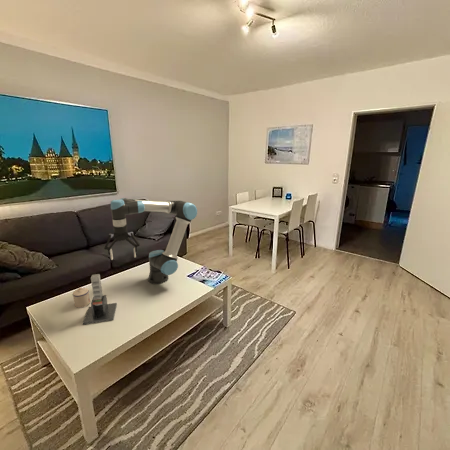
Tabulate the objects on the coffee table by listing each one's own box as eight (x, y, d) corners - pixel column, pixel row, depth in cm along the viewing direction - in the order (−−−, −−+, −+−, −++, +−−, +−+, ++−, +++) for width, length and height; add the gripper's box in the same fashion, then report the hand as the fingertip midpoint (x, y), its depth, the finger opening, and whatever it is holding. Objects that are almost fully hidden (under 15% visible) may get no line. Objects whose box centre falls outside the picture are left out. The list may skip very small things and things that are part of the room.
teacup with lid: (93, 303, 161) (90, 287, 158) (78, 310, 154) (75, 293, 151) (84, 297, 168) (82, 281, 165) (70, 303, 161) (67, 287, 158)
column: (96, 301, 149) (92, 274, 144) (103, 300, 150) (99, 273, 146) (94, 306, 145) (90, 278, 140) (102, 305, 146) (98, 277, 141)
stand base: (89, 308, 155) (86, 293, 152) (116, 304, 160) (114, 290, 157) (82, 325, 140) (80, 308, 138) (113, 320, 145) (111, 304, 142)
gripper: (96, 228, 143) (101, 262, 149) (141, 225, 150) (144, 258, 156) (98, 225, 150) (103, 257, 156) (141, 222, 157) (144, 253, 163)
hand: (123, 258), depth 156 cm, fingers open, 13 cm apart
